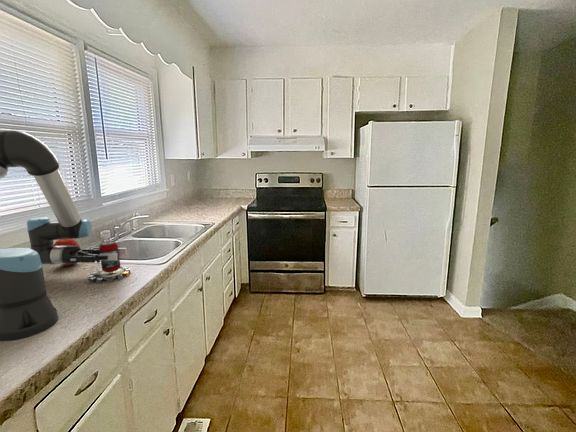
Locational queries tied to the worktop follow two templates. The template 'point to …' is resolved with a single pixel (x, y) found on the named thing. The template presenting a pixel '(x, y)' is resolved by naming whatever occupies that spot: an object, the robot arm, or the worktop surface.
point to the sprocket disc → (108, 275)
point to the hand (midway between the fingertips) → (121, 254)
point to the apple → (66, 243)
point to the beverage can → (105, 249)
